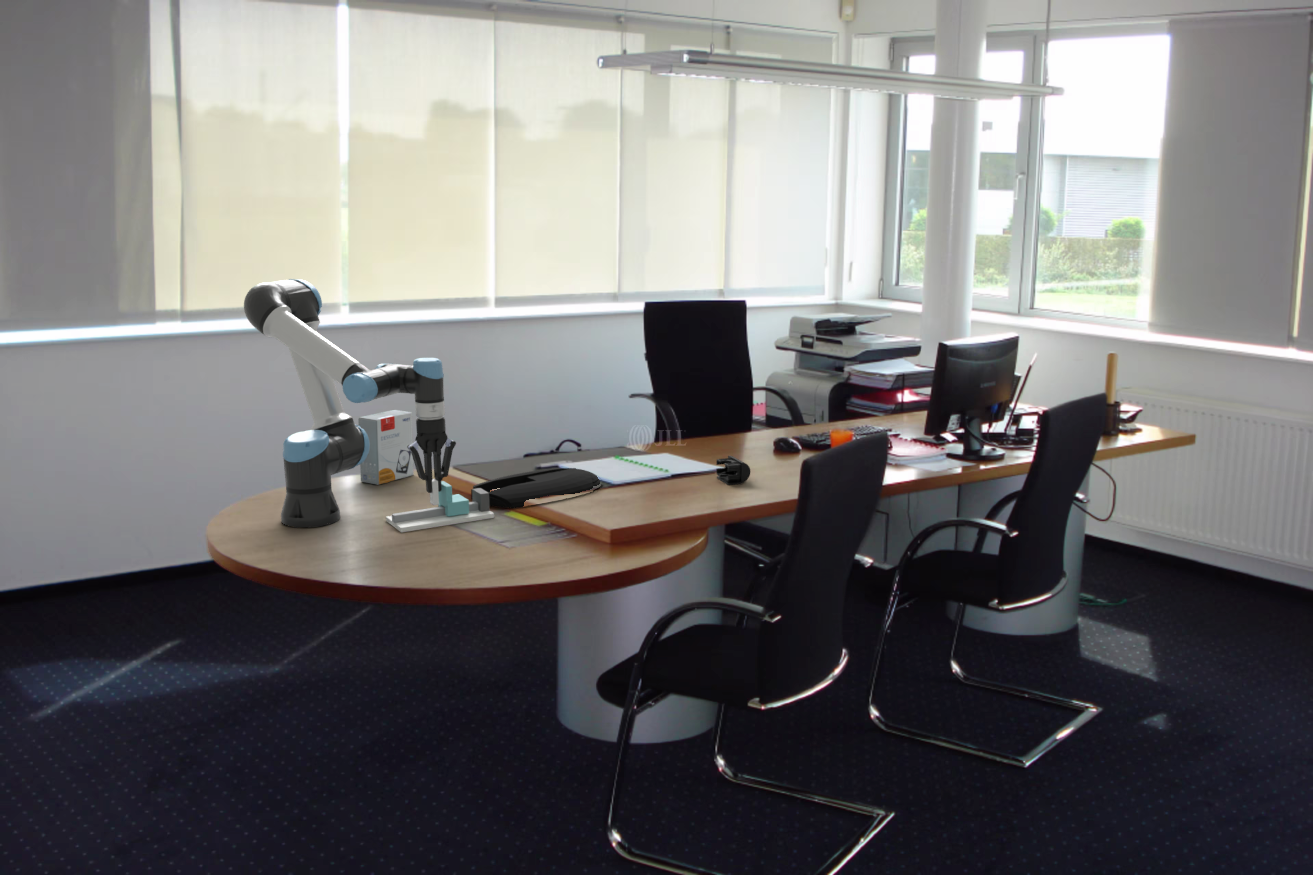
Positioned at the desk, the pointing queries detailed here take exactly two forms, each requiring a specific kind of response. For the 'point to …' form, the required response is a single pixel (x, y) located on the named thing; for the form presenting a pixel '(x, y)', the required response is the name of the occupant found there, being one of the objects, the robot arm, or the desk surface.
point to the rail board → (442, 515)
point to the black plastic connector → (732, 471)
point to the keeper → (452, 501)
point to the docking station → (536, 485)
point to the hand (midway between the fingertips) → (434, 503)
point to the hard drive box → (387, 446)
